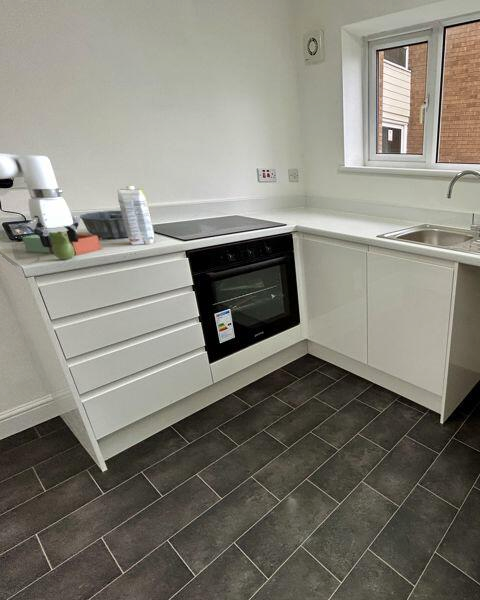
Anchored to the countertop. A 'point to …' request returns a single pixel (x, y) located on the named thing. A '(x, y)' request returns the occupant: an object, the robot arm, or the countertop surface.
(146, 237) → the juice carton
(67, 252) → the pear
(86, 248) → the terracotta bin
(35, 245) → the green bin
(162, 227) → the countertop surface
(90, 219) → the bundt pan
